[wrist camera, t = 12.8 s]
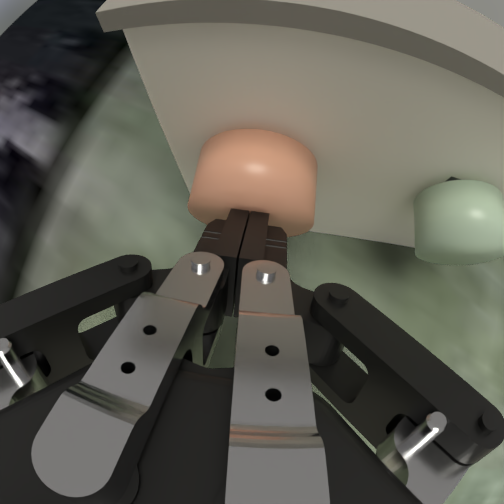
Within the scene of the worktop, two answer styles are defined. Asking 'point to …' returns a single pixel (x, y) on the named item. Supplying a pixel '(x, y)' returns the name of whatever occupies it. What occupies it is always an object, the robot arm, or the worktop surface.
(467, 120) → the panel
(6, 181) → the worktop surface
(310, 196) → the terracotta button
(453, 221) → the sage button
